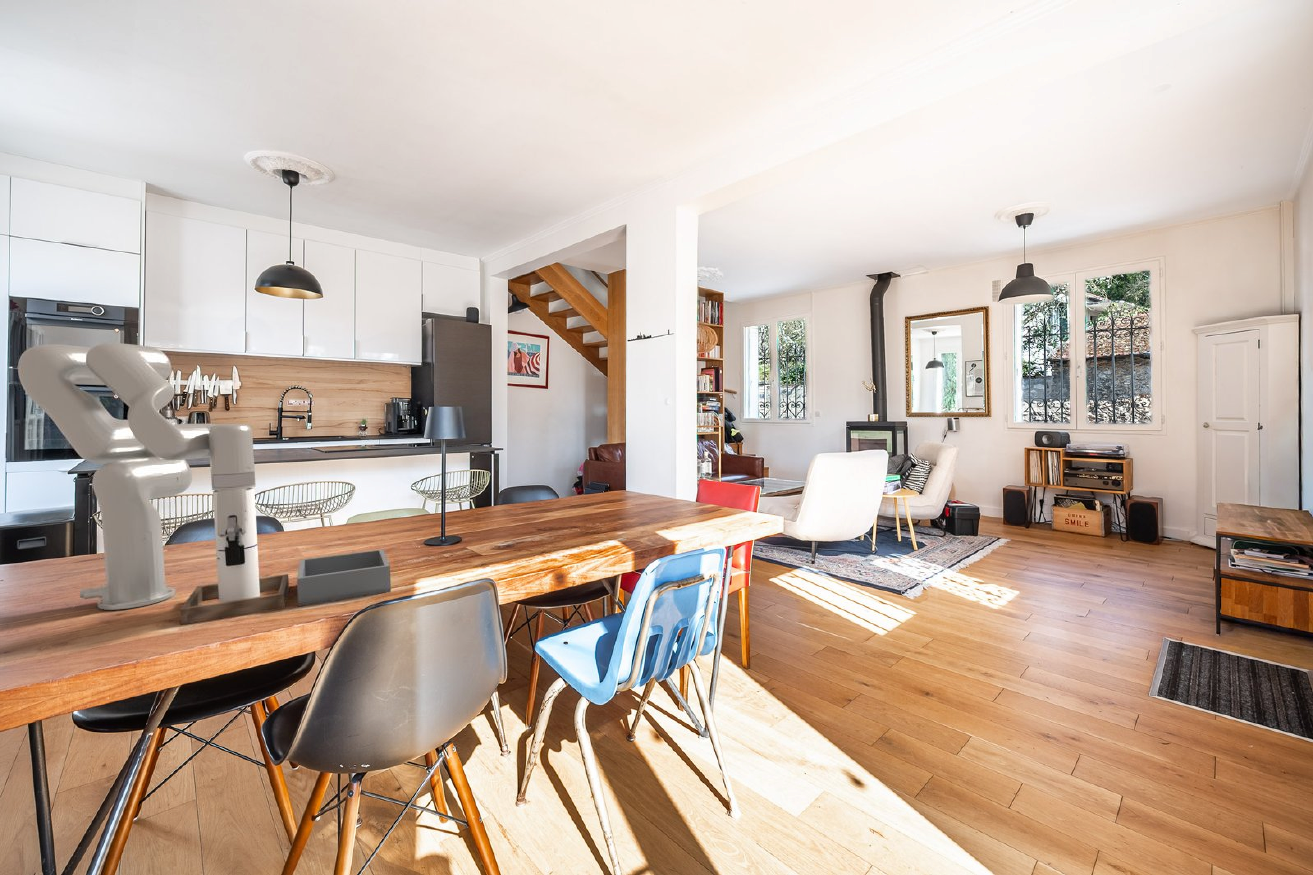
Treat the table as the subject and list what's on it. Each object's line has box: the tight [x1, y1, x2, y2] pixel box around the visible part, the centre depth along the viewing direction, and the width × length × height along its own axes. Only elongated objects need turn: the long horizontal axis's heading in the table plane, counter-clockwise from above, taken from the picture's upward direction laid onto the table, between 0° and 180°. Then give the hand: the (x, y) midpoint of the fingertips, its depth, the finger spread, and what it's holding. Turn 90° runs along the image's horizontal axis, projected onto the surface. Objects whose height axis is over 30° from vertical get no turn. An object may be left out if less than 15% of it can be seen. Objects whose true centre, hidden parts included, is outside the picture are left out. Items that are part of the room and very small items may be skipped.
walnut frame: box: [179, 573, 290, 625], centre depth 122 cm, size 17×17×3 cm
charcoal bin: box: [296, 548, 392, 607], centre depth 132 cm, size 18×18×6 cm
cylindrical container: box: [212, 487, 261, 603], centre depth 121 cm, size 7×7×25 cm
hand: (238, 559), depth 121 cm, fingers open, 9 cm apart
